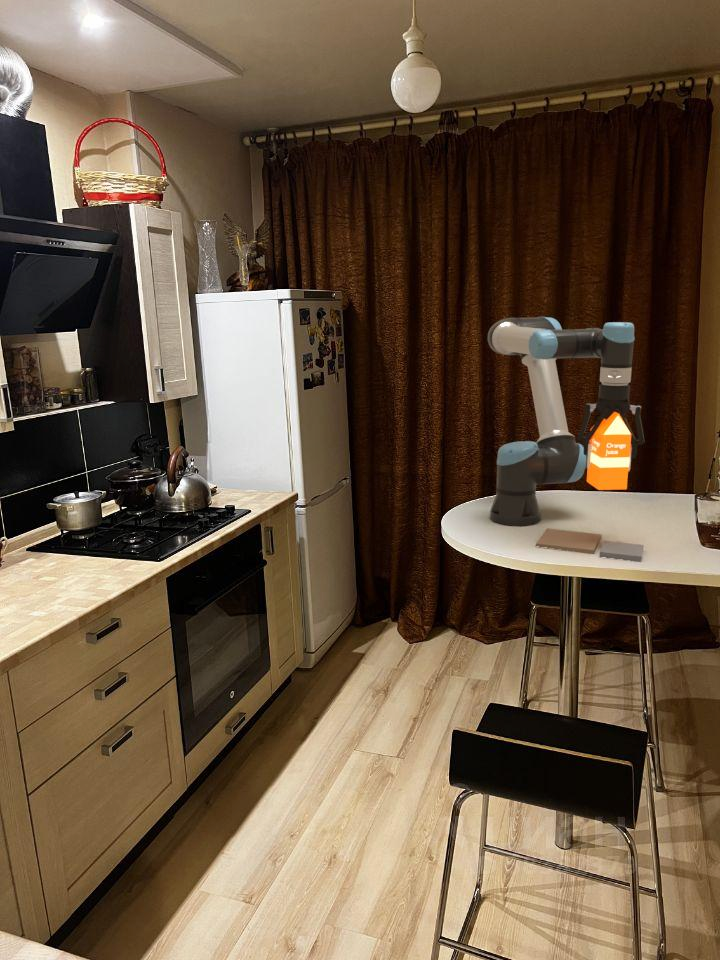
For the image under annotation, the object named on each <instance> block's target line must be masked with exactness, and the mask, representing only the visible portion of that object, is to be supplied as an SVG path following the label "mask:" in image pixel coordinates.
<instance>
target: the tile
mask: <svg viewBox="0 0 720 960" xmlns="http://www.w3.org/2000/svg"><path fill="white" fill-rule="evenodd" d="M644 548H645V547H644V544H638V543H628V542H621V541H612V540H610V541H609V540H603V541H602V545H601V547H600V551H599V558H601V557H606V558H605V559H609V558H614V559H613V560H618V559H623V560H622V561H627V560H630V561H629V562H636V563H637V562H639V563H641V562H642V558H643V552H644Z"/></svg>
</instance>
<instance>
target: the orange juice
mask: <svg viewBox="0 0 720 960" xmlns="http://www.w3.org/2000/svg"><path fill="white" fill-rule="evenodd" d="M592 428H593V426H592V427H591V428H590V430H589V432H590V431H591V429H592ZM589 442H591V443H592V451H591V465H590V468H587V472H586V474H587V475H586V482H587V483H588V484H589V485H590V486H592V487H594V489H596V490H598V491H604V490H605V491H611V490H612V491H613V490H627V489H628V477H629V476H628V475H629V471H628V467H629V458H630V457H629V456H630V445H631V433H630V431H629V430H628V428H627V426H626V425H625V423H624V421H623V420H622V418H621V417H620V415H619V414H618V413H616V412H614V413H613V414H612V415H611V416H610V417H609V418H608V419H607V420H606V419H603V421H602V422H601V424H600V425H599V427H598V429H597V430H596V432H595V433H594V435H593V436H592V438H591V439H590V441H589Z"/></svg>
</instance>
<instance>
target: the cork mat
mask: <svg viewBox="0 0 720 960" xmlns="http://www.w3.org/2000/svg"><path fill="white" fill-rule="evenodd" d="M602 536H603V534H601V533H594V532H593V533H592V532H584V531H577V530H576V531H573V530H564V529H557V528H556V529H555V528H546V529H545V531H544V532H543V533H542V535H541V536H540V537H539V539H538V540H537V541H536V542H535V547H536V546H539V547H538V548H541V547H547V548H546V549H549V548H554V549H553V550H557V549H561V550H560V551H566V550H568V551H567V552H574V551H575V552H574V553H582V552H583V553H584V554H591V553H592V554H593V555H594V554H595V552H596V550H597V548H598V545H599V544H600V542H601V540H600V539H602ZM583 553H582V554H583Z"/></svg>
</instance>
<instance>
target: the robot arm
mask: <svg viewBox="0 0 720 960" xmlns="http://www.w3.org/2000/svg"><path fill="white" fill-rule="evenodd" d="M635 339H636V337H635V325H634V323H633V322H625V321H624V322H621V321H618V322H617V321H616V322H615V321H613V322H605V323H604V325H603V328H602V329H601V328H599V327H590V328H579V329H578V328H576V329H574V328H573V329H563V328H562V326H561V324H560V322H559V321H558V320H557V319H556V318H553V317H549V316H548V317H546V316H538V317H508V318H507V317H506V318H503V319H500V320H498V321H496V322H495V323H494V324H493V325H491V327H490V328H489V330H488V333H487V342H488V343H487V344H488V345H489V347H490V349H491V350H492V351H493V352H495V353H497V354H500V355H505V356H520V358H521V364H523V365H524V366H527V371H528V376H529V382H530V388H531V392H532V399H533V404H534V405H533V406H534V410H535V416H536V422H537V428H538V434H539V438H538V439H537V440H536V442H535V441H531V440H525V441H513V442H509V443H505V444H503V445H502V446H500V447H499V449H498V451H497V459H496V494H495V497H494V500H493V502H492V505H491V508H490V511H489V519H490V520H491V521H492V522H495V523H497V524H500V525H507V526H531V525H535V524H538V523H540V522H541V520H542V519H541V518H542V512H541V509H540V505H539V503H538V502H539V501H538V499H537V496H536V492H537V485H550V484H551V485H552V484H567V483H573V482H577V481H579V480H580V479H581V478H582V477H583V475H584V472H585V470H586V469H588V468H590V465H591V451H592V443H591V442H590V439H591V438H592V436H593V435H594V433H595V432H596V430H597V429H598V427H599V425H600V424H601V422H602V421H603V419H606V420H607V419H608V418H609V417H610V416H611V415H612V414H613V413H614V412H616V413H618V414H619V415H620V417H621V418H622V420H623V421H624V423H625V425H626V426H627V428H628V430H629V431H630V433H631V444H630V456H629V457H630V458H629V467H628V472H631V471H630V470H631V464H632V463H631V462H632V459H636V456H637V449H638V446H641V445H644V444H645V435H644V429H643V425H642V418H641V411H642V406H641V405H633V404H630V403H631V402H630V394H631V392H630V391H631V386H630V385H629V383H631V380H632V370H633V369H632V364H633V358H634V357H633V356H634V355H633V354H634V345H635ZM585 358H586V359H587V358H588V359H589V358H596V359H597V358H598V359H600V371H599V372H600V373H599V382H600V383H601V384H599V388H598V399H597V402H596V403H589V402H588V403H586V404H585V405H584V406H585V407H584V408H585V410H584V416H583V420H582V423H581V426H580V429H579V431H578V434H577V436H575V435H574V434H572V433H570V432H569V427H568V423H567V416H566V412H565V406H564V402H563V401H564V400H563V395H562V390H561V386H560V379H559V375H558V368H557V363H556V360H558V359H585ZM595 409H597V411H598V413H599V414H600V415H599V416H598V418H597V420H596V422H595V423H594V424H593V425H592V427H593V428H592V427H591V428H592V429H591V428H590V429H591V431H590V430H589V432H588V434H587V435H586V436H585V432H586V429H587V426H588V423H589V420H590V417H591V415H592V413H593V412H594V410H595ZM629 411H631V414H632V415H634V422H635V426H636V433H637V438H638V439H636V436H635V435H634V432H633V430H632V429H631V426H630V424H629V421H628V420H627V417H626V414H627V413H628V412H629ZM575 437H577V438H575ZM576 439H577V440H578V441H580V442H582V443H583V445H582V444H581V443H577V442H576Z"/></svg>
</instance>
